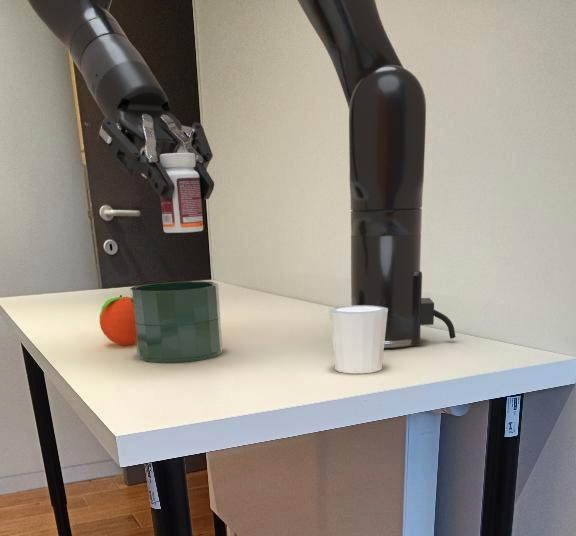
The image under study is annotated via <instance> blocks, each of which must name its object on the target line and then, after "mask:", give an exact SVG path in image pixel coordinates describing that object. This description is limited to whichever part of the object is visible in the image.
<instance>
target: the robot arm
mask: <svg viewBox="0 0 576 536" xmlns="http://www.w3.org/2000/svg"><path fill="white" fill-rule="evenodd" d="M112 1H113V0H27V2H28V4H29V6H30V7H31V9H32V10H33V11H34V13H35V14H36V16H37V17H38V18H39V19H40V20H41V21H42V23H43V24H44V25H45V26H46V27H47V28H48V30H49V32H51V33H52V34H53V36H54V37H55V38H56V39H57V40H58V41H60V43H61V44H62V45H63V47H65V49H66V50H67V52H68V53H69V55H70V57H71V59H72V61H73V62H74V64H75V65H76V67H77V69H78V70H79V72H80V74H81V75H82V77H83V79H84V81H85V84H86V87H87V89H88V90H89V91H88V92H90V94H91V96H92V98H93V99H94V102H95V103H96V104H97V106H98V108H99V110H100V111H101V112H102V115H103V116H104V118H103V119H102V122H101V126H100V129H99V132H98V135H97V141H98V142H99V143H100V145H102V147H103V148H104V149H105V150H106V151H107V152H108V153H109V154H110V155H111V157H112V158H113V159H114V160H115V161H116V162H117V163H118V165H120V167H121V168H122V169H123V170H124V171H125V172H126V173H127V174H128V175H134V174H135V173H136V172H137V173H139V174H141V176H142V177H143V178H145V179H147V181H148V183H149V184H150V185H151V188H152V190H153V191H154V192H155V194H157V196H159V197H160V196H161V198H162V199H163V200H164V201H168V200H171V197H172V195H173V193H174V190H175V186H174V183H173V182H172V180H171V179H170V177H169V175H168V174H167V172H166V170H165V169H164V167H163V166H162V164H161V163H160V162H158V157H160V155H161V154H170V153H194V154H195V162H196V164H195V167H194V170H195V171H196V172H197V173H198V174H199V177H200V192H201V200H209V199H210V198H211V195H212V194H213V191H214V190H215V189H214V187H215V181H214V180H213V178H212V177H211V175H210V173H209V172H208V171H207V170H208V167H209V165H210V162H211V161H212V160H213V157H214V155H213V152H212V149H211V146H210V143H209V141H208V137H207V136H206V133H205V132H206V131H205V129H204V127H203V124H201V123H200V122H197V121H195V122H193V123H192V126H187V125H182V123H181V121H180V120H178V118H176V117H175V116H174V115H173V114H172V113H171V110H170V109H171V108H170V104H169V98H168V96H167V94H166V93H165V91H164V89H163V88H162V86H161V85H160V83H159V81H158V80H157V78H156V76H155V75H154V74H153V72H152V70H151V68H150V67H149V66H148V64H147V63H146V61H145V59H144V58H143V56H142V55H141V53H140V52H139V51H138V50H137V48H136V47H135V46H134V45H133V44H132V42H130V40H129V38H128V36H127V35H126V33H125V32H124V30H123V28H122V27H121V26H120V24H119V22H118V21H117V20H116V18H115V17H114V16H113V15H112V14H111V13H110V12H109V11H110V7H111V4H112ZM297 2H298V4H299V6H300V7H301V9H302V11H303V12H304V15H305V16H306V18H307V20H308V21H309V23H310V25H311V26H312V28H313V30H314V31H315V33H316V34H317V36H318V38H319V39H320V41H321V43H322V45H323V47H324V48H325V50H326V51H327V54H328V57H329V58H330V60H331V62H332V65H333V67H334V69H335V72H336V75H337V77H338V80H339V83H340V86H341V89H342V92H343V95H344V98H345V102H346V104H347V108H348V154H349V156H348V158H349V159H348V160H349V192H350V193H349V195H350V296H351V297H350V306H355V305H370V306H380V307H385V308H388V312H387V322H386V332H385V342H384V349H398V348H405V347H412V346H420V345H421V327H422V326H433V325H434V324H435V323H434V321H435V319H434V318H437V319H439V320H440V321H442V322H443V323H444V324H445V325H446V327H447V330H448V335H449V339H450V340H451V339H455V338H456V337H457V335H456V332H455V327H454V324H453V322H452V321H451V319H450V318H449V316H447V315H446V314H443V312H440V311H438V310H436V309H435V302H434V301H433V300H432V299H431V298H430V297H422V294H423V293H422V291H423V290H422V289H423V272H422V271H421V255H422V222H423V219H422V218H423V209H422V208H423V196H424V195H423V194H424V183H425V157H426V156H425V153H426V129H427V128H426V125H427V124H426V123H427V101H426V94H425V92H424V91H425V90H424V87H423V86H422V84H421V82H420V81H419V79H418V78H417V77H416V75H414V74H413V72H411V71H410V70H408V69H406V68H405V67H404V66H403V64H402V62H401V59H400V58H399V56H398V55H397V52H396V50H395V48H394V46H393V44H392V42H391V40H390V38H389V36H388V33H387V31H386V30H385V27H384V24H383V21H382V19H381V16H380V13H379V10H378V6H377V2H376V0H297ZM126 154H127V155H128V157H127V156H126ZM161 198H160V199H161Z"/></svg>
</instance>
